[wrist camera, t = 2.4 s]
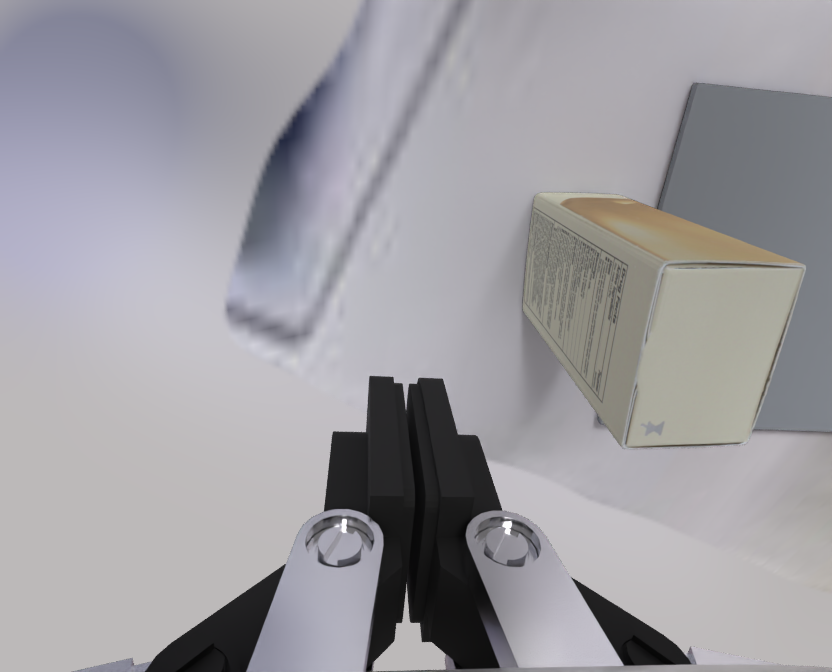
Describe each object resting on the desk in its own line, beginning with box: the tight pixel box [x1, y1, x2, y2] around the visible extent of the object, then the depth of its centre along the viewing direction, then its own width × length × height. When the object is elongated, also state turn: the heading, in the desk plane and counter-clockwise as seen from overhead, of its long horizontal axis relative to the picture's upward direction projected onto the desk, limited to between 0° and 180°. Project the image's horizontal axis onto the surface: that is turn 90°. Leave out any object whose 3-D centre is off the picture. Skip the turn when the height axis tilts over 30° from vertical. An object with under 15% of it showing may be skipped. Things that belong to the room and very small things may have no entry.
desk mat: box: [598, 83, 832, 432], centre depth 28 cm, size 18×18×1 cm
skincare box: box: [523, 192, 806, 449], centre depth 21 cm, size 6×4×12 cm
